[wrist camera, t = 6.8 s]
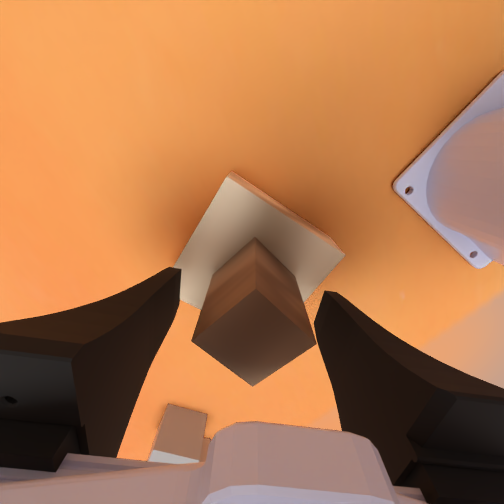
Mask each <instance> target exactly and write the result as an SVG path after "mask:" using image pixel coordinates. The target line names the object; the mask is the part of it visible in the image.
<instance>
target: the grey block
mask: <svg viewBox="0 0 504 504" xmlns="http://www.w3.org/2000/svg"><path fill="white" fill-rule="evenodd" d="M206 419H207V414H205V413H201V412H197V411H194V410H190V409H186V408H182V407H179V406H175V405H171V404H168V405H167V408H166V410H165V413H164V415H163V417H162V420H161V422H160V425H159V427H158V430H157V433H156V436H155V439H154V442H153V445H152V448H151V451H150V454H149V457H148V460H147V461H151V462H161V463H171V464H187V463H197V462H199V461H200V455H201V449H202V443H203V437H204V431H205V425H206Z"/></svg>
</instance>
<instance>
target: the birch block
mask: <svg viewBox="0 0 504 504" xmlns="http://www.w3.org/2000/svg"><path fill="white" fill-rule="evenodd" d="M254 237H256V238H257V239H258V240H259V241H260V242H261V243H262V244H263V245H264V246H265V247H266V248H267V249H268V250H269V251H270V252H271V253H272V254H273V255H274V256H275V257H276V258H277V259H278V260H279V261H280V262H281V263H282V264H283V265H284V266H285V267H286V268H287V269H288V270H289V271H290V272H291V273H292V274H293V275H294V276H295V277H296V281H297V284H298V287H299V290H300V293H301V296H302V299H303V302H305V301H306V299H307V298H308V297H309V296H310V295H311V294H312V293H313V291H314V290H315V289H316V288H317V287H318V286H319V285H320V284H321V282H322V281H323V280H324V279H325V278H326V277H327V276H328V274H329V273H330V272H331V271H332V270H333V269H334V268H335V267H336V265H337V264H338V263H339V262H340V261H341V260H342V259H343V257H344V256H345V254H344V253H343V251H342V250H341V249H340V248H339V247H338V246H337V244H336V243H335V242H334V241H333V240H332V238H331V237H330V236H328V235H327V234H325V233H324V232H322V231H321V230H319V229H318V228H316V227H315V226H313V225H312V224H310V223H309V222H307V221H306V220H304V219H303V218H301V217H300V216H298V215H297V214H295V213H294V212H293V211H291V210H290V209H288V208H287V207H285V206H284V205H282V204H281V203H279V202H278V201H276V200H275V199H273V198H272V197H270V196H269V195H267V194H266V193H264V192H263V191H261V190H260V189H258V188H257V187H255V186H254V185H252V184H251V183H249V182H248V181H246V180H245V179H243V178H242V177H240V176H239V175H237V174H236V173H235V172H233V171H231V172H230V173H229V174H228V175H227V177H226V178H225V180H224V182H223V183H222V185H221V187H220V189H219V190H218V192H217V194H216V195H215V197H214V199H213V200H212V202H211V204H210V206H209V207H208V209H207V211H206V212H205V214H204V216H203V217H202V219H201V221H200V222H199V224H198V226H197V228H196V229H195V231H194V233H193V234H192V236H191V238H190V239H189V241H188V243H187V245H186V246H185V248H184V250H183V251H182V253H181V255H180V256H179V258H178V260H177V261H176V263H175V265H174V267H173V268H179V269H182V271H181V286H180V300H182V301H184V302H186V303H188V304H190V305H192V306H194V307H196V308H198V309H200V310H201V309H202V306H203V303H204V300H205V297H206V294H207V291H208V288H209V284H210V281H211V278H212V275H213V274H214V273H215V272H216V271H217V270H218V269H219V268H220V267H222V266H223V265H224V264H225V263H226V262H227V261H228V260H229V259H230V258H232V257H233V256H234V255H235V254H236V253H237V252H238V251H239V250H241V249H242V248H243V247H244V246H245V245H246V244H247V243H248V242H249V241H251V240H252V239H253V238H254Z"/></svg>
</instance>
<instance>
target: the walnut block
mask: <svg viewBox="0 0 504 504" xmlns="http://www.w3.org/2000/svg"><path fill="white" fill-rule="evenodd" d="M191 341H192V342H193V343H194V344H196V345H197V346H199V347H200V348H201V349H203V350H204V351H205V352H207V353H208V354H209V355H211V356H212V357H213V358H215V359H216V360H217V361H219V362H220V363H221V364H223V365H224V366H226V367H227V368H228V369H230V370H231V371H232V372H234V373H235V374H236V375H238V376H239V377H240V378H242V379H243V380H244V381H246V382H247V383H248V384H250V385H251V386H252V387H253V386H254V385H256V384H257V383H259V382H260V381H262V380H263V379H265V378H266V377H268V376H269V375H271V374H272V373H274V372H275V371H277V370H278V369H280V368H281V367H283V366H284V365H286V364H287V363H289V362H290V361H292V360H293V359H295V358H296V357H298V356H299V355H301V354H302V353H304V352H305V351H307V350H308V349H310V348H311V347H313V346H314V345H316V344H317V343H316V340H315V337H314V334H313V331H312V327H311V324H310V321H309V318H308V315H307V312H306V309H305V306H304V302H303V299H302V296H301V293H300V290H299V287H298V284H297V281H296V277H295V276H294V275H293V274H292V273H291V272H290V271H289V270H288V269H287V268H286V267H285V266H284V265H283V264H282V263H281V262H280V261H279V260H278V259H277V258H276V257H275V256H274V255H273V254H272V253H271V252H270V251H269V250H268V249H267V248H266V247H265V246H264V245H263V244H262V243H261V242H260V241H259V240H258V239H257V238H256V237H254V238H253V239H252V240H251V241H249V242H248V243H247V244H246V245H245V246H244V247H243V248H242V249H241V250H239V251H238V252H237V253H236V254H235V255H234V256H233V257H232V258H230V259H229V260H228V261H227V262H226V263H225V264H224V265H223V266H222V267H220V268H219V269H218V270H217V271H216V272H215V273H214V274H213V275H212V278H211V281H210V284H209V288H208V291H207V294H206V297H205V300H204V303H203V306H202V309H201V312H200V316H199V319H198V322H197V325H196V328H195V331H194V334H193V337H192V340H191Z"/></svg>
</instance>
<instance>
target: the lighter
mask: <svg viewBox="0 0 504 504" xmlns="http://www.w3.org/2000/svg"><path fill="white" fill-rule="evenodd" d="M210 442H211V439H209V438H203V443H202V449H201V455H200V461H199V462H205V461H206V457H207V451H208V445H209V444H210Z"/></svg>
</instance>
